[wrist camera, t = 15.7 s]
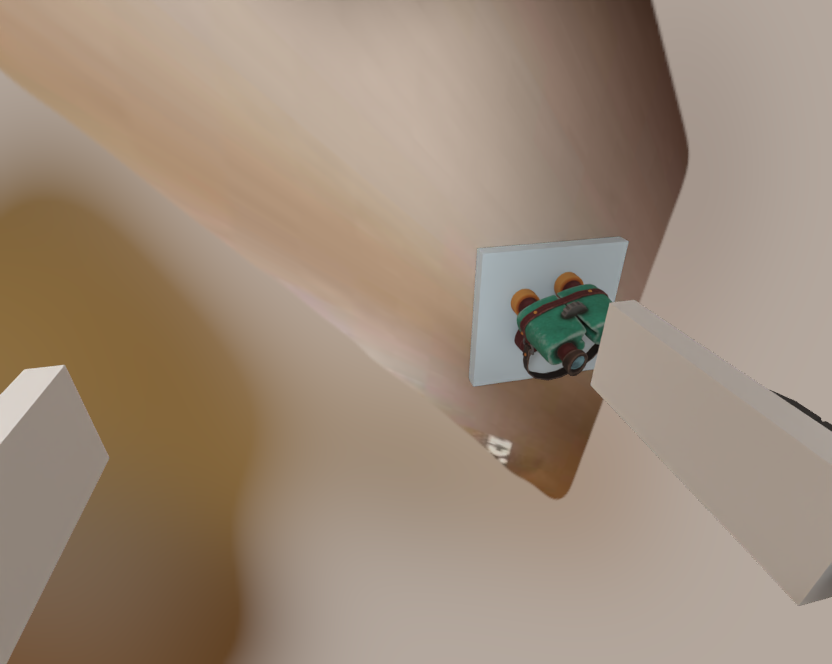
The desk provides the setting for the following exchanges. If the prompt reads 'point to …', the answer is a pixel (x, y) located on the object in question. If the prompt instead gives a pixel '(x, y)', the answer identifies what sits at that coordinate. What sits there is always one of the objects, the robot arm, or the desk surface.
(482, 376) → the board
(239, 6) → the desk surface
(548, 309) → the binoculars
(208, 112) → the desk surface
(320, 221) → the desk surface
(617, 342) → the robot arm
